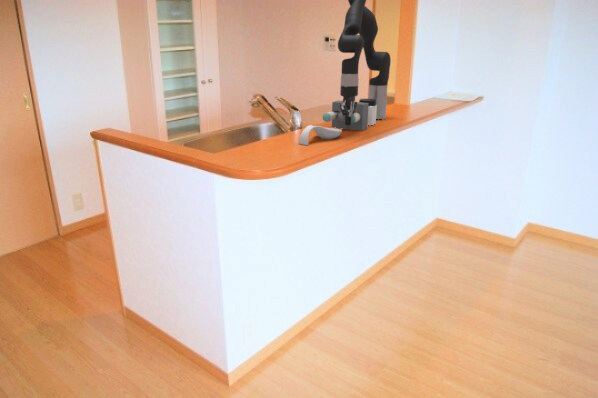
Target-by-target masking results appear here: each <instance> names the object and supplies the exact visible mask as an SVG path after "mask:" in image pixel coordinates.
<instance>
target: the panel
mask: <svg viewBox="0 0 598 398" xmlns="http://www.w3.org/2000/svg"><path fill="white" fill-rule="evenodd" d="M356 102H357V106H356V109H355V112H354V113H358V114H361V118H360V120H359V121H357V122H355V123H351V125H345V121H343V122H341V121H339V120H338V116H336V118H335V119H334V120H332V121H331V128H332V127H336V129H338V128H343V129H342V130H347V129H351V130H350V131H356V130H359V131H358V132H363V130H364V131H365V129H366V130H368V126H367V124H368V104H369V103H362V102H359V101H356ZM342 104H343V100H339V99H338V100H334V101H332V104H331V109H332V110H331V111H333V112H335V113H336V112H338V113H342V112H341V109H340V105H342Z"/></svg>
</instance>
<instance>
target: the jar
mask: <svg viewBox="0 0 598 398" xmlns="http://www.w3.org/2000/svg"><path fill="white" fill-rule="evenodd" d="M358 102H362V103H369V104H368V124H367V125H373V126H375V125H374V124H376V125H377V120H376V114H377V105H376V99H368V98H360V99H359V100H358Z"/></svg>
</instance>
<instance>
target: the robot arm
mask: <svg viewBox="0 0 598 398" xmlns="http://www.w3.org/2000/svg"><path fill="white" fill-rule="evenodd" d="M347 1H348V3H349V8H348V9H347V10H346V14H345V17H344V27H343V30H342V31H341V34H340V36H339V38H338V41H337V49H338V51H339V52H340V53H344V54H347V53H348V54H353V56H352V57H349V58H344V59H343V60H341V75H340V89H339V91H340V93H339V95H340V96H341V97H342V98H343V99H342V101H343V104H342V105H340V109H341V112H342V114H343V116H345V125H351V116H352V114H354V112H355V109H356V106H357V102H358V101H356V97H357V96H358V95H359V64H360V58H361V53H362V51H363V52H364V58H365V62H366V65H367V68H368V69H369V70H370V71H373V72H375V71H376V72H377V71H378V74H377V75H376V76H375V77H371V78H369V80H368V82H369V83H368V98H367V99H376V105H377V114H376V119H384V120H386V117H387V100H388V99H387V98H388V83H389V78H390V69H391V55H390V53H389V51H376V49H375V47H374V42H375V40H376V37H377V35H378V31H379V27H378V23H377V20H376V16H375V14H374V13H373V11H371V10H370V8H368V7H367V6H366V3H367V0H347Z"/></svg>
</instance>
